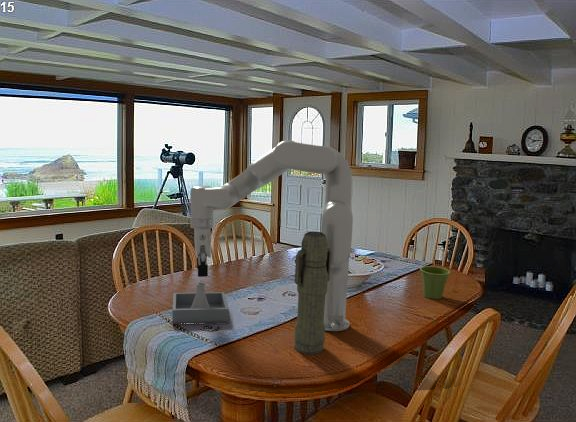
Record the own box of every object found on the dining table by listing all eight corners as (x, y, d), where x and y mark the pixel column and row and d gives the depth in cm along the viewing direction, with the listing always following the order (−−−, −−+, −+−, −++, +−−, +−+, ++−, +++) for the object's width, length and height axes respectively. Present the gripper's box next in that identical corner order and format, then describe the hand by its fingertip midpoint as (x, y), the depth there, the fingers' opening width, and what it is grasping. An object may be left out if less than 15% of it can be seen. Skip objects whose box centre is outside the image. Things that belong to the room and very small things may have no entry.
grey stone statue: (283, 347, 155) (289, 232, 150) (312, 338, 163) (318, 228, 158) (304, 358, 148) (310, 237, 143) (333, 348, 156) (340, 233, 151)
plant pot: (412, 296, 212) (414, 269, 210) (426, 290, 220) (428, 264, 219) (439, 303, 204) (441, 275, 202) (452, 297, 212) (455, 270, 211)
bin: (228, 323, 172) (228, 308, 172) (172, 325, 169) (172, 310, 168) (223, 305, 190) (224, 292, 189) (173, 306, 186) (173, 292, 185)
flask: (206, 316, 175) (207, 287, 173) (186, 314, 176) (186, 285, 175) (213, 309, 182) (214, 281, 181) (193, 307, 183) (194, 279, 182)
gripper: (214, 227, 167) (215, 279, 169) (211, 218, 184) (211, 265, 186) (191, 227, 165) (191, 280, 168) (190, 218, 182) (190, 266, 185)
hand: (202, 272), depth 177 cm, fingers open, 9 cm apart
